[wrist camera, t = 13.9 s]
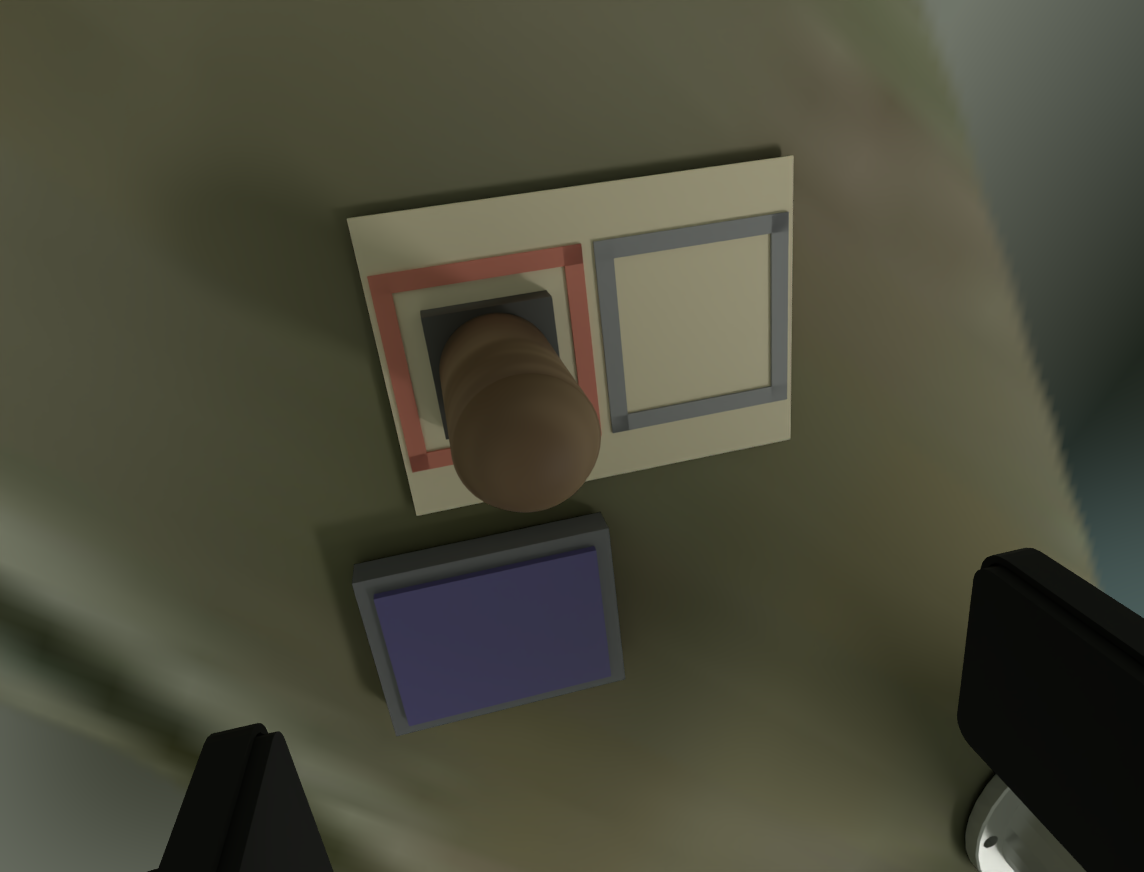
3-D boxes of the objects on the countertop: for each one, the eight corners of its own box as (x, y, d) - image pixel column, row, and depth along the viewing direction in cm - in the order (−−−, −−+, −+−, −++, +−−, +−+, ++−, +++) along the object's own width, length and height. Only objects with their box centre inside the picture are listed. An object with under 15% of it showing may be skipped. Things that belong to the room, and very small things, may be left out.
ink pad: (600, 512, 27) (610, 532, 25) (617, 659, 29) (627, 684, 28) (353, 564, 25) (351, 588, 24) (396, 713, 28) (396, 742, 27)
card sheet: (790, 155, 23) (795, 155, 23) (787, 437, 27) (791, 440, 27) (347, 217, 21) (346, 219, 21) (416, 513, 25) (416, 517, 25)
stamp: (546, 289, 23) (616, 366, 15) (561, 406, 24) (632, 527, 17) (420, 310, 22) (428, 401, 15) (444, 428, 24) (463, 564, 16)
